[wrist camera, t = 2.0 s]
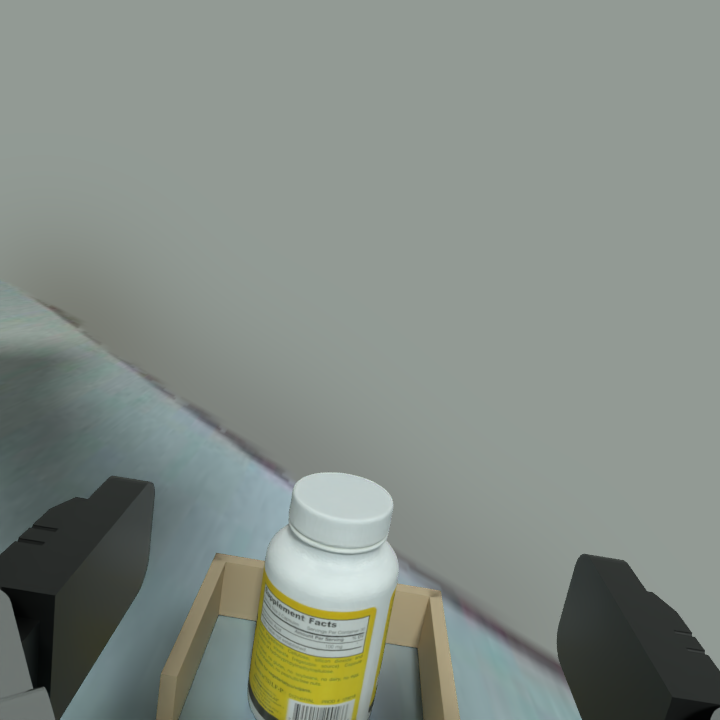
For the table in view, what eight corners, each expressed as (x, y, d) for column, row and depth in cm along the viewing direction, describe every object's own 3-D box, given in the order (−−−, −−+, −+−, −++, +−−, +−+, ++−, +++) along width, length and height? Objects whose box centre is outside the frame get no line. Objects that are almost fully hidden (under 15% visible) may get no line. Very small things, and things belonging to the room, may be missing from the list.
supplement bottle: (307, 638, 31) (340, 453, 28) (395, 706, 28) (440, 504, 25) (218, 693, 27) (246, 482, 24) (309, 781, 23) (353, 548, 21)
